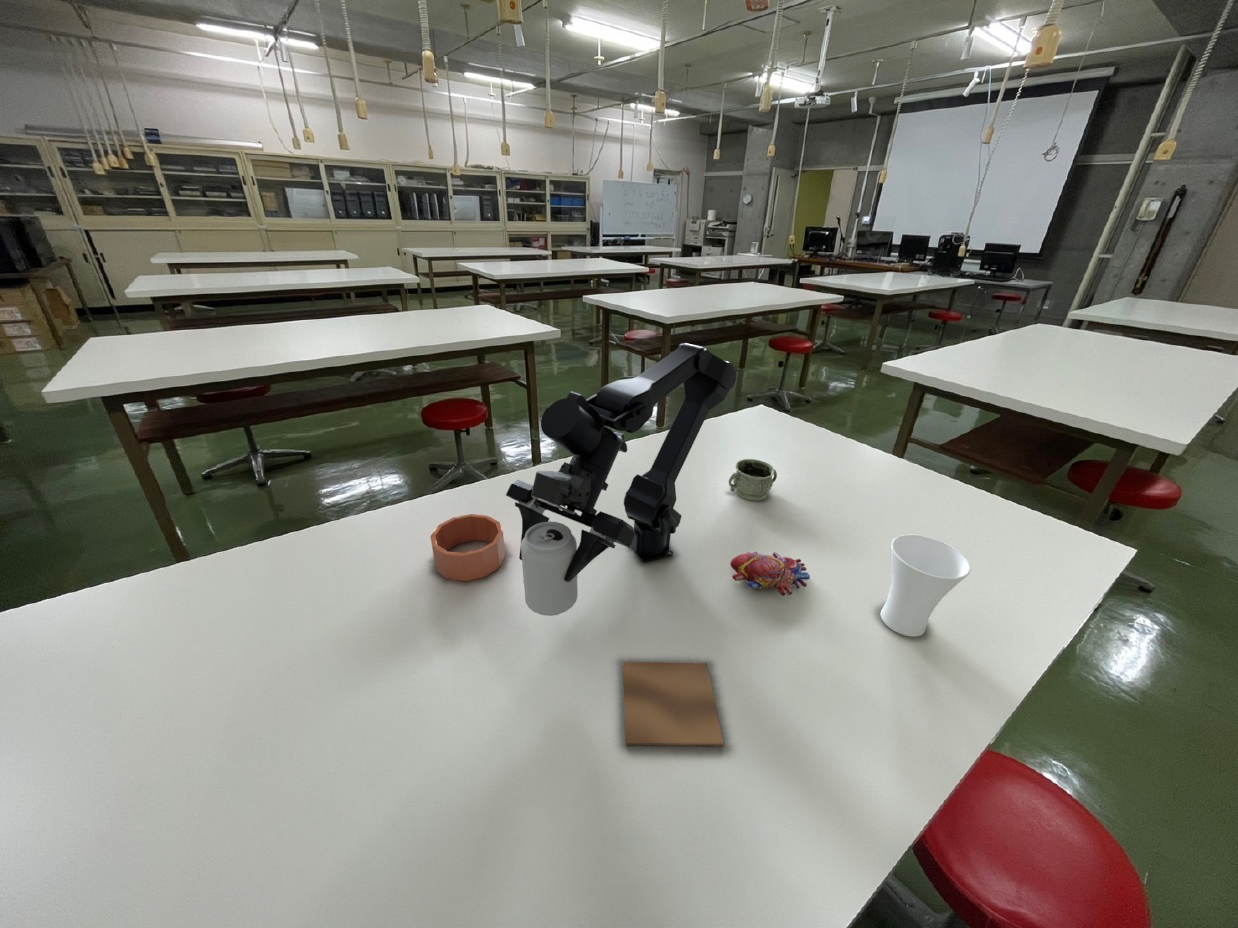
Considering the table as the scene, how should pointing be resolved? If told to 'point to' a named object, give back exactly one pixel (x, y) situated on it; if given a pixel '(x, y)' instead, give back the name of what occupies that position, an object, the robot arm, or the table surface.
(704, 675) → the wooden coaster
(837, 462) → the table surface
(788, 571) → the anatomical model
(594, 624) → the table surface
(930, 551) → the cup
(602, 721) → the table surface
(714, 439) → the table surface
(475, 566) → the pot
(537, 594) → the can
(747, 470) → the vessel
